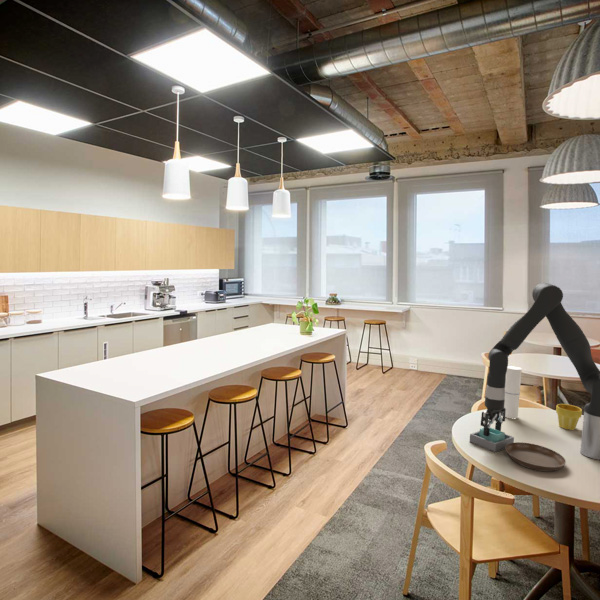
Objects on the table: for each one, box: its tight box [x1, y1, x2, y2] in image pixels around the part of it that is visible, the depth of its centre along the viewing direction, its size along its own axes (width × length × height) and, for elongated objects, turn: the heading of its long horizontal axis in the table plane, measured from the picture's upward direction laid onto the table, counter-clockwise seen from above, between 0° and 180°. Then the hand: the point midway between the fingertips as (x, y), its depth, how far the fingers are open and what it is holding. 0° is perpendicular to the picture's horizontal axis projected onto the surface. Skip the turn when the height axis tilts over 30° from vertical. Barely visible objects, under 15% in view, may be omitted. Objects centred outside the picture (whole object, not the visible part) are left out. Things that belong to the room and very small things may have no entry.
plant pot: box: [555, 403, 583, 431], centre depth 202 cm, size 10×10×10 cm
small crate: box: [479, 427, 506, 443], centre depth 181 cm, size 6×8×5 cm
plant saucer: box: [504, 441, 567, 472], centre depth 166 cm, size 21×21×3 cm
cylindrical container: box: [504, 365, 523, 420], centre depth 213 cm, size 7×7×25 cm
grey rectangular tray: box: [469, 430, 515, 453], centre depth 181 cm, size 14×12×4 cm
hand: (492, 433), depth 181 cm, fingers open, 8 cm apart
